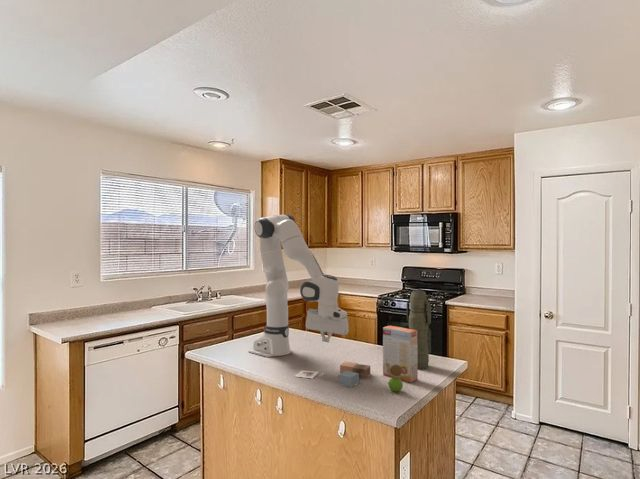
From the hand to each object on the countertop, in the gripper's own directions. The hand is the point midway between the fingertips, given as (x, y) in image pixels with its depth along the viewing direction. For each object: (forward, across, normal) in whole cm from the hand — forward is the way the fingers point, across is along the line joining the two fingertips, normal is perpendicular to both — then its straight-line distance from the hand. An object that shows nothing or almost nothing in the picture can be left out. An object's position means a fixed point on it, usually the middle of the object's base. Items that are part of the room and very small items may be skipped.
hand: (325, 341), depth 175 cm
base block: (+12, +18, 0) cm, 22 cm away
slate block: (+12, +16, -11) cm, 23 cm away
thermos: (+10, +38, +23) cm, 45 cm away
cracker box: (+11, +34, +5) cm, 36 cm away
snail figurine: (+11, +35, -11) cm, 39 cm away
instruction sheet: (+13, -4, -10) cm, 17 cm away
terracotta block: (+12, +12, +1) cm, 17 cm away
